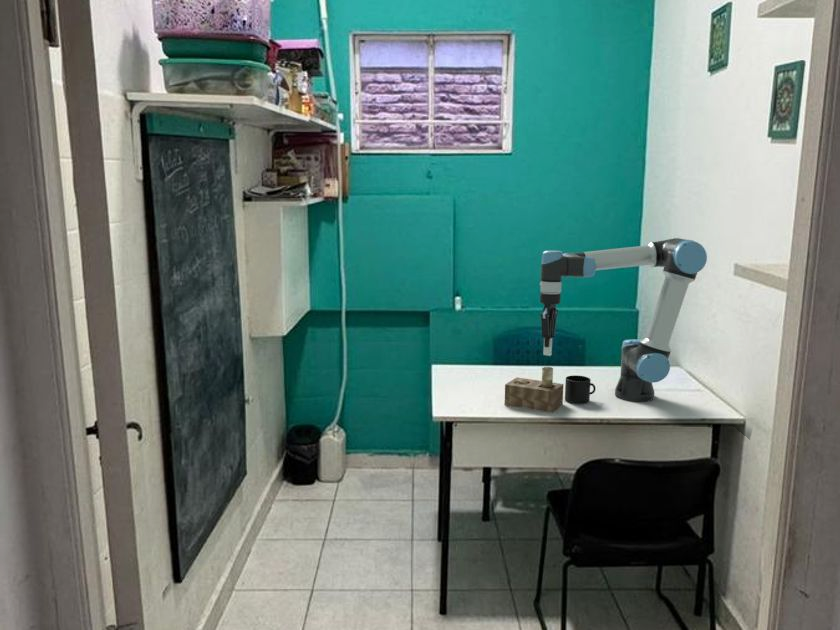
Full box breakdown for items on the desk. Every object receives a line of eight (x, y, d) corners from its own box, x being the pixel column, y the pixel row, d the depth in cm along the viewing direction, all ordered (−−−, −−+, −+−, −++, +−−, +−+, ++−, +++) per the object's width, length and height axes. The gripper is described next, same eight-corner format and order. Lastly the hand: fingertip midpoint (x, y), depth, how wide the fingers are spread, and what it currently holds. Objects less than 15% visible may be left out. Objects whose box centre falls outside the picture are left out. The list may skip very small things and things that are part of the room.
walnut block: (562, 404, 267) (563, 384, 265) (552, 412, 256) (553, 391, 255) (516, 396, 276) (516, 377, 274) (504, 404, 265) (505, 384, 264)
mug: (599, 403, 268) (600, 381, 266) (569, 404, 266) (570, 382, 264) (590, 396, 277) (591, 374, 275) (561, 397, 275) (562, 375, 274)
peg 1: (528, 400, 269) (528, 380, 268) (524, 403, 266) (525, 382, 264) (518, 398, 271) (519, 379, 270) (514, 401, 268) (515, 381, 266)
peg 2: (553, 388, 263) (554, 367, 262) (550, 390, 260) (551, 369, 258) (543, 386, 265) (544, 366, 264) (539, 389, 262) (540, 368, 260)
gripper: (546, 289, 263) (543, 350, 268) (534, 293, 252) (531, 357, 256) (565, 291, 260) (562, 352, 264) (554, 295, 249) (551, 359, 253)
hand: (547, 354), depth 260 cm, fingers closed
